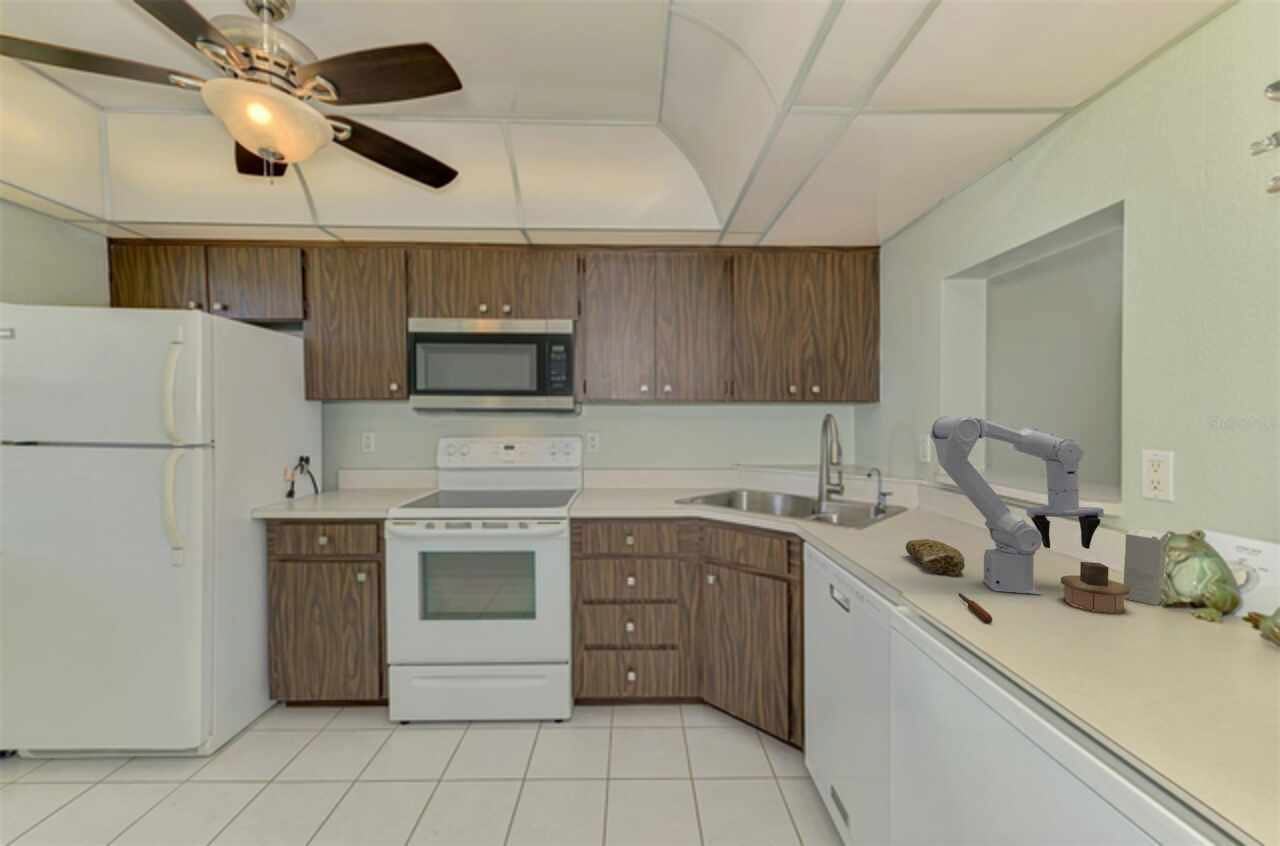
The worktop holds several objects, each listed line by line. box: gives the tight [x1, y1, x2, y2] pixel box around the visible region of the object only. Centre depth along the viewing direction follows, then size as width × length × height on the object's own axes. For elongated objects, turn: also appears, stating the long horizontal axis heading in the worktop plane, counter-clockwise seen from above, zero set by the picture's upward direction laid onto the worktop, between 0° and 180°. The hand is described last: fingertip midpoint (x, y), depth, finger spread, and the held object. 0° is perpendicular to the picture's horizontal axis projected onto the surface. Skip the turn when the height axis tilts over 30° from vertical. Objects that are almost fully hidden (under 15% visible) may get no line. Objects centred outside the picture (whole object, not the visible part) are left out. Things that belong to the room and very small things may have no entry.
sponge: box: [905, 538, 965, 577], centre depth 147 cm, size 13×8×20 cm
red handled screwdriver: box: [957, 592, 993, 624], centre depth 113 cm, size 16×1×2 cm, turn 169°
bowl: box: [1063, 585, 1125, 614], centre depth 117 cm, size 9×9×4 cm
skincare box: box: [1123, 528, 1167, 606], centre depth 121 cm, size 8×6×15 cm
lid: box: [1060, 561, 1129, 595], centre depth 116 cm, size 11×11×5 cm
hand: (1066, 547), depth 128 cm, fingers open, 7 cm apart
